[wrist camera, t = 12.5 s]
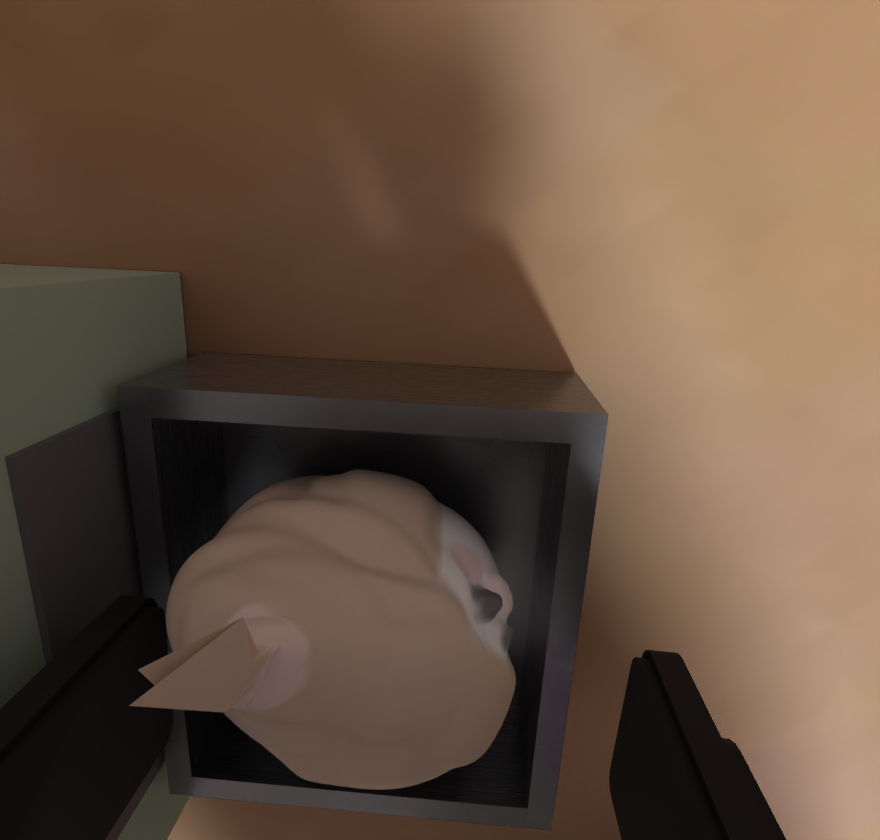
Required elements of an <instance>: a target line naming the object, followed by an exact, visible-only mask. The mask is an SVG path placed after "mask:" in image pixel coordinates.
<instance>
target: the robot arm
mask: <svg viewBox="0 0 880 840" xmlns="http://www.w3.org/2000/svg"><path fill="white" fill-rule="evenodd" d="M166 655H168V646H167V634H166V622H165V613H164V610H163V608H161V607H158V606H157V602H156V601H155V599H152V598H146V597H137V596H127V595H123V596H120V597H118V598H117V599H115V600H114V601H113V602H112V603H111V604H110V605H109V606H108V607H107V608H106V609H105V610H104V611H103V612H102V613H101V614H100V615H99V616H98V617H97V618H95V619H94V620H93V621H92V622H91V623H90V624H89V625H88V626H87V627H86V628H85V629H84V630H83V631H82V632H81V633H80V634H79V635H78V636H76V637H75V638H74V639H73V640H72V641H71V642H70V643H69V644H68V645H67V646H66V647H65V648H64V649H63V650H62V651H61V652H60V653H59V654H58V655H56V656H55V657H54V658H53V659H52V660H51V661H50V662H49V663H48V664H47V665H46V666H45V667H44V668H43V669H42V670H41V671H40V672H39V673H38V674H36V675H35V676H34V677H33V678H32V679H31V680H30V681H29V682H28V683H27V684H26V685H25V686H24V687H23V688H22V689H21V690H20V691H19V692H17V693H16V694H15V695H14V696H13V697H12V698H11V699H10V700H9V701H8V702H7V703H6V704H5V705H4V706H3V707H2V708H1V709H0V840H105V839H106V837H107V836H108V834H109V833H110V831H111V830H112V828H113V826H114V825H115V823H116V822H117V820H118V819H119V817H120V816H121V814H122V812H123V811H124V809H125V808H126V806H127V805H128V803H129V802H130V800H131V798H132V797H133V795H134V794H135V792H136V791H137V789H138V787H139V786H140V784H141V783H142V781H143V780H144V778H145V777H146V775H147V773H148V772H149V770H150V769H151V767H152V766H153V764H154V763H155V761H156V759H157V758H158V756H159V755H160V753H161V752H162V750H163V748H164V747H165V745H166V744H167V742H168V740H169V738H170V735H171V733H172V729H173V724H174V717H173V709H167V708H152V707H138V706H129V705H131V704H132V703H133V702H134V701H136V700H137V699H138V698H140V697H141V696H142V695H143V694H145V693H146V692H147V691H149V690H150V689H151V688H152V687H154V686H155V685H154V684H153V683H152V682H150V681H149V680H148V679H147V678H146V677H145V676H144V675H143V674H142V673H141V672H140V671H139V670H138V669H140V668H142V667H144V666H146V665H148V664H150V663H152V662H154V661H156V660H158V659H160V658H162V657H164V656H166ZM609 781H610V792H611V797H612V801H613V805H614V810H615V814H616V818H617V822H618V826H619V831H620V835H621V839H622V840H786V838H785V836H784V834H783V832H782V830H781V829H780V827H779V825H778V823H777V821H776V819H775V817H774V815H773V813H772V811H771V809H770V807H769V805H768V803H767V802H766V800H765V798H764V796H763V794H762V792H761V790H760V788H759V786H758V784H757V782H756V780H755V778H754V776H753V774H752V773H751V771H750V769H749V767H748V765H747V763H746V761H745V759H744V757H743V755H742V753H741V751H740V750H739V748H738V747H737V745H736V744H735V743H734V742H733V741H731V740H730V739H724V738H721V736H720V734H719V732H718V730H717V728H716V726H715V724H714V722H713V720H712V718H711V716H710V714H709V712H708V710H707V708H706V706H705V704H704V701H703V699H702V697H701V695H700V693H699V691H698V689H697V687H696V685H695V683H694V681H693V679H692V677H691V675H690V673H689V671H688V669H687V667H686V665H685V663H684V661H683V659H682V657H681V656H680V655H679V654H678V653H672V652H662V651H653V650H646V651H644V653H643V655H642V658H639V657H635V658H634V659H633V660H632V664H631V669H630V674H629V678H628V683H627V688H626V693H625V698H624V703H623V708H622V713H621V718H620V723H619V728H618V733H617V738H616V743H615V748H614V753H613V758H612V763H611V767H610V777H609Z"/></svg>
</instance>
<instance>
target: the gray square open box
mask: <svg viewBox="0 0 880 840" xmlns="http://www.w3.org/2000/svg"><path fill="white" fill-rule="evenodd" d="M116 387H117V394H118V402H119V410H120V417H121V425H122V433H123V440H124V448H125V456H126V463H127V471H128V479H129V486H130V494H131V502H132V509H133V517H134V525H135V532H136V540H137V547H138V555H139V563H140V570H141V578H142V586H143V593H144V597H146V598H152V599H155V601H156V602H157V606H158V607H161V608H163V610H164V613H165V622H166V608H167V602H168V597H169V593H170V590H171V587H172V584H173V582H174V579H175V577H176V575H177V573H178V572H179V570H180V568H181V567H182V565H183V564H184V563H185V561H186V560H187V559H188V558H189V557H190V556H191V555H192V554H193V553H194V552H195V551H196V550H198V549H199V548H200V547H202V546H203V545H204V544H206V543H207V542H209V541H211V540H212V539H213V538H214V537H215V536H216V535H217V533H218V532H219V531H220V530H221V528H222V527H223V526H224V525H225V523H226V522H227V521H228V520H229V519H230V517H231V516H232V515H233V514H234V513H235V512H236V511H237V510H238V509H239V508H240V507H241V506H242V505H243V504H244V503H245V502H246V501H248V500H249V499H250V498H252V497H253V496H254V495H256V494H257V493H259V492H260V491H262V490H264V489H265V488H267V487H269V486H271V485H273V484H276V483H279V482H282V481H285V480H289V479H294V478H299V477H305V476H315V475H325V476H329V475H339V474H343V473H346V472H348V471H351V470H356V469H362V470H370V471H376V472H382V473H388V474H392V475H397V476H400V477H404V478H407V479H410V480H412V481H415V482H417V483H419V484H421V485H422V486H424V487H425V488H426V489H427V490H428V491H429V492H430V493H431V494H432V495H433V497H434V498H435V499H436V500H437V501H438V502H440V503H441V504H443V505H445V506H447V507H449V508H450V509H452V510H454V511H455V512H456V513H458V514H459V515H461V516H462V517H463V518H464V519H465V520H467V521H468V522H469V523H470V524H471V525H472V526H473V527H474V528H475V530H476V531H477V532H478V533H479V534H480V536H481V537H482V538H483V540H484V541H485V543H486V544H487V546H488V548H489V549H490V551H491V553H492V555H493V557H494V559H495V562H496V564H497V567H498V570H499V573H500V575H501V577H502V578H503V579H504V580H505V581H506V583H507V584H508V586H509V588H510V591H511V594H512V599H513V607H512V611H511V612H510V614H509V615H508V617H507V625H508V626H510V627H511V628H512V629H513V634H512V638H511V642H510V645H509V648H508V651H507V652H508V656H509V658H510V661H511V663H512V665H513V668H514V671H515V676H516V684H515V690H514V694H513V697H512V700H511V703H510V706H509V709H508V712H507V714H506V717H505V719H504V721H503V724H502V726H501V728H500V730H499V732H498V733H497V735H496V737H495V739H494V740H493V742H492V743H491V745H490V746H489V748H488V749H487V751H486V752H485V753H484V754H483V755H482V756H481V757H480V758H479V759H477V760H476V761H474V762H472V763H470V764H468V765H465V766H462V767H457V768H453V769H451V770H449V771H448V772H446V773H444V774H442V775H440V776H438V777H436V778H434V779H431V780H429V781H426V782H423V783H420V784H417V785H413V786H409V787H404V788H398V789H386V790H376V789H361V788H351V787H342V786H335V785H330V784H322V783H317V782H312V781H308V780H305V779H303V778H301V777H299V776H297V775H296V774H295V773H294V772H292V771H291V770H290V769H289V768H288V767H287V766H286V765H285V764H284V763H283V762H281V761H280V760H279V759H278V758H277V757H276V756H275V755H273V754H272V753H271V752H270V751H268V750H267V749H266V748H265V747H264V746H263V745H262V744H260V743H259V742H257V741H256V740H254V739H253V738H251V737H250V736H249V735H248V734H246V733H245V732H244V731H242V730H241V729H240V728H239V727H238V726H237V725H235V724H234V723H233V722H232V721H231V720H230V719H229V718H228V717H227V716H226V715H225V714H224V713H223V712H210V711H195V710H181V709H173V717H174V724H173V729H172V733H171V735H170V738H169V740H168V742H167V744H166V745H165V747H164V754H165V762H166V769H167V777H168V785H169V792H170V794H177V795H188V796H198V797H209V798H219V799H229V800H240V801H250V802H261V803H271V804H281V805H292V806H302V807H313V808H323V809H333V810H344V811H354V812H365V813H375V814H385V815H396V816H406V817H417V818H427V819H437V820H448V821H458V822H469V823H479V824H489V825H500V826H510V827H521V828H531V829H541V830H551V828H552V820H553V813H554V806H555V798H556V791H557V784H558V777H559V769H560V762H561V755H562V747H563V740H564V733H565V726H566V718H567V711H568V704H569V697H570V689H571V682H572V675H573V667H574V660H575V653H576V646H577V638H578V631H579V624H580V616H581V609H582V602H583V595H584V587H585V580H586V573H587V566H588V558H589V551H590V544H591V536H592V529H593V522H594V515H595V507H596V500H597V493H598V485H599V478H600V471H601V464H602V456H603V449H604V442H605V435H606V427H607V420H608V414H607V412H606V411H605V410H604V408H603V407H602V406H601V405H600V403H599V402H598V401H597V399H596V398H595V397H594V395H593V394H592V393H591V392H590V390H589V389H588V388H587V386H586V385H585V384H584V382H583V381H582V380H581V378H580V377H579V376H578V375H577V373H565V372H547V371H529V370H512V369H494V368H476V367H458V366H440V365H422V364H404V363H386V362H368V361H350V360H333V359H315V358H297V357H279V356H261V355H243V354H225V353H207V352H202V353H199V354H197V355H194V356H191V357H189V358H186V359H184V360H181V361H179V362H176V363H173V364H171V365H168V366H166V367H163V368H160V369H158V370H155V371H153V372H150V373H147V374H145V375H142V376H140V377H137V378H134V379H132V380H129V381H127V382H124V383H121V384H119V385H116ZM166 634H167V646H168V654H170V653H172V652H173V651H172V648H171V645H170V642H169V638H168V633H167V626H166Z"/></svg>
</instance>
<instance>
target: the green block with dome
mask: <svg viewBox="0 0 880 840" xmlns="http://www.w3.org/2000/svg"><path fill="white" fill-rule="evenodd" d="M186 358H187V347H186V336H185V325H184V314H183V303H182V292H181V281H180V273H179V272H158V271H138V270H117V269H97V268H76V267H56V266H35V265H15V264H0V709H1V708H2V707H3V706H4V705H5V704H6V703H7V702H8V701H9V700H10V699H11V698H12V697H13V696H14V695H15V694H16V693H17V692H19V691H20V690H21V689H22V688H23V687H24V686H25V685H26V684H27V683H28V682H29V681H30V680H31V679H32V678H33V677H34V676H35V675H36V674H38V673H39V672H40V671H41V670H42V669H43V668H44V667H45V666H46V665H47V664H48V663H49V662H50V661H51V660H52V659H53V658H54V657H55V656H56V655H58V654H59V653H60V652H61V651H62V650H63V649H64V648H65V647H66V646H67V645H68V644H69V643H70V642H71V641H72V640H73V639H74V638H75V637H76V636H78V635H79V634H80V633H81V632H82V631H83V630H84V629H85V628H86V627H87V626H88V625H89V624H90V623H91V622H92V621H93V620H94V619H95V618H97V617H98V616H99V615H100V614H101V613H102V612H103V611H104V610H105V609H106V608H107V607H108V606H109V605H110V604H111V603H112V602H113V601H114V600H115V599H117V598H118V597H120V596H123V595H127V596H137V597H144V593H143V586H142V578H141V570H140V563H139V555H138V547H137V540H136V532H135V525H134V517H133V509H132V502H131V494H130V486H129V479H128V471H127V463H126V456H125V448H124V440H123V433H122V425H121V417H120V410H119V402H118V394H117V387H116V385H119V384H121V383H124V382H127V381H129V380H132V379H134V378H137V377H140V376H142V375H145V374H147V373H150V372H153V371H155V370H158V369H160V368H163V367H166V366H168V365H171V364H173V363H176V362H179V361H181V360H184V359H186ZM188 798H189V796H188V795H177V794H170V792H169V785H168V777H167V769H166V762H165V754H164V748H163V750H162V752H161V753H160V755H159V756H158V758H157V759H156V761H155V763H154V764H153V766H152V767H151V769H150V770H149V772H148V773H147V775H146V777H145V778H144V780H143V781H142V783H141V784H140V786H139V787H138V789H137V791H136V792H135V794H134V795H133V797H132V798H131V800H130V802H129V803H128V805H127V806H126V808H125V809H124V811H123V812H122V814H121V816H120V817H119V819H118V820H117V822H116V823H115V825H114V826H113V828H112V830H111V831H110V833H109V834H108V836H107V837H106V839H105V840H167V838H168V836H169V834H170V832H171V831H172V829H173V827H174V825H175V823H176V821H177V819H178V817H179V815H180V813H181V812H182V810H183V808H184V806H185V804H186V802H187V800H188Z"/></svg>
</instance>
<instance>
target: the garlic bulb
mask: <svg viewBox="0 0 880 840" xmlns="http://www.w3.org/2000/svg"><path fill="white" fill-rule="evenodd" d="M512 607H513V599H512V594H511V591H510V588H509V586H508V584H507V583H506V581H505V580H504V579H503V578H502V577H501V575H500V573H499V570H498V567H497V564H496V562H495V559H494V557H493V555H492V553H491V551H490V549H489V548H488V546H487V544H486V543H485V541H484V540H483V538H482V537H481V536H480V534H479V533H478V532H477V531H476V530H475V528H474V527H473V526H472V525H471V524H470V523H469V522H468V521H467V520H465V519H464V518H463V517H462V516H461V515H459V514H458V513H456V512H455V511H454V510H452V509H450V508H449V507H447V506H445V505H443V504H441V503H440V502H438V501H437V500H436V499H435V498H434V497H433V495H432V494H431V493H430V492H429V491H428V490H427V489H426V488H425V487H424V486H422V485H421V484H419V483H417V482H415V481H412V480H410V479H407V478H404V477H400V476H397V475H392V474H388V473H382V472H376V471H370V470H362V469H356V470H351V471H348V472H346V473H343V474H339V475H329V476H325V475H315V476H305V477H299V478H294V479H289V480H285V481H282V482H279V483H276V484H273V485H271V486H269V487H267V488H265V489H264V490H262V491H260V492H259V493H257V494H256V495H254V496H253V497H252V498H250V499H249V500H248V501H246V502H245V503H244V504H243V505H242V506H241V507H240V508H239V509H238V510H237V511H236V512H235V513H234V514H233V515H232V516H231V517H230V519H229V520H228V521H227V522H226V523H225V525H224V526H223V527H222V528H221V530H220V531H219V532H218V533H217V535H216V536H215V537H214V538H213V539H212V540H211V541H209V542H207V543H206V544H204V545H203V546H202V547H200V548H199V549H198V550H196V551H195V552H194V553H193V554H192V555H191V556H190V557H189V558H188V559H187V560H186V561H185V563H184V564H183V565H182V567H181V568H180V570H179V572H178V573H177V575H176V577H175V579H174V582H173V584H172V587H171V590H170V593H169V597H168V602H167V608H166V626H167V633H168V638H169V642H170V645H171V648H172V651H173V652H172V653H170V654H168V655H166V656H164V657H162V658H160V659H158V660H156V661H154V662H152V663H150V664H148V665H146V666H144V667H142V668H140V669H138V670H139V671H140V672H141V673H142V674H143V675H144V676H145V677H146V678H147V679H148V680H149V681H150V682H152V683H153V684H154V685H155V686H154V687H152V688H151V689H150V690H149V691H147V692H146V693H145V694H143V695H142V696H141V697H140V698H138V699H137V700H136V701H134V702H133V703H132V704H131V705H129V706H138V707H152V708H167V709H181V710H195V711H210V712H223V713H224V714H225V715H226V716H227V717H228V718H229V719H230V720H231V721H232V722H233V723H234V724H235V725H237V726H238V727H239V728H240V729H241V730H242V731H244V732H245V733H246V734H248V735H249V736H250V737H251V738H253V739H254V740H256V741H257V742H259V743H260V744H262V745H263V746H264V747H265V748H266V749H267V750H268V751H270V752H271V753H272V754H273V755H275V756H276V757H277V758H278V759H279V760H280V761H281V762H283V763H284V764H285V765H286V766H287V767H288V768H289V769H290V770H291V771H292V772H294V773H295V774H296V775H297V776H299V777H301V778H303V779H305V780H308V781H312V782H317V783H322V784H330V785H335V786H342V787H351V788H361V789H376V790H386V789H398V788H404V787H409V786H413V785H417V784H420V783H423V782H426V781H429V780H431V779H434V778H436V777H438V776H440V775H442V774H444V773H446V772H448V771H449V770H451V769H453V768H457V767H462V766H465V765H468V764H470V763H472V762H474V761H476V760H477V759H479V758H480V757H481V756H482V755H483V754H484V753H485V752H486V751H487V749H488V748H489V746H490V745H491V743H492V742H493V740H494V739H495V737H496V735H497V733H498V732H499V730H500V728H501V726H502V724H503V721H504V719H505V717H506V714H507V712H508V709H509V706H510V703H511V700H512V697H513V694H514V690H515V684H516V676H515V671H514V668H513V665H512V663H511V661H510V658H509V656H508V652H507V651H508V648H509V645H510V642H511V638H512V634H513V629H512V628H511V627H510V626H508V625H507V617H508V615H509V614H510V612H511V611H512Z"/></svg>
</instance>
